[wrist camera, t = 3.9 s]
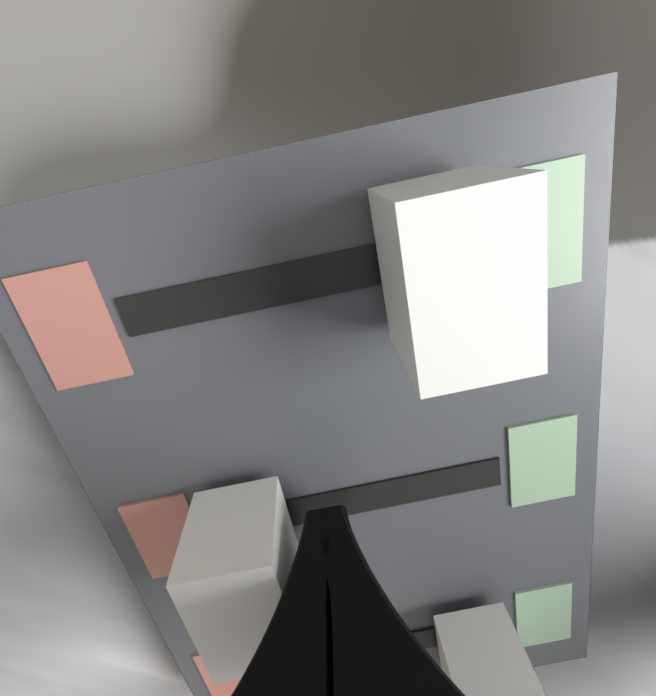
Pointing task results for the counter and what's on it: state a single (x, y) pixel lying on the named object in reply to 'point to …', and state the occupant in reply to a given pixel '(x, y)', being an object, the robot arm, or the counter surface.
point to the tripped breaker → (232, 571)
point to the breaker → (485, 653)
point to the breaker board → (324, 363)
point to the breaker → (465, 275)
